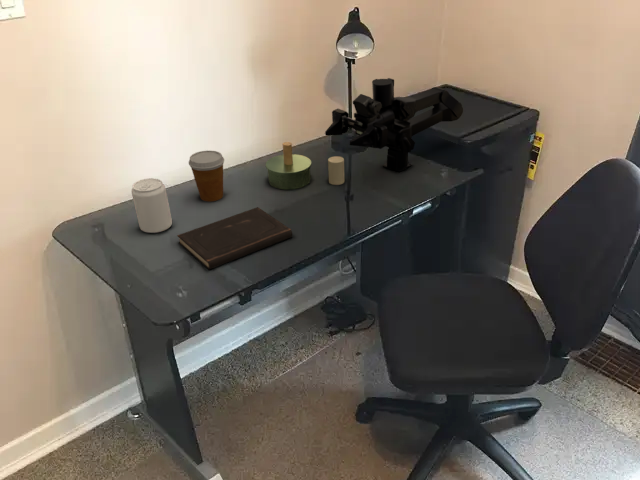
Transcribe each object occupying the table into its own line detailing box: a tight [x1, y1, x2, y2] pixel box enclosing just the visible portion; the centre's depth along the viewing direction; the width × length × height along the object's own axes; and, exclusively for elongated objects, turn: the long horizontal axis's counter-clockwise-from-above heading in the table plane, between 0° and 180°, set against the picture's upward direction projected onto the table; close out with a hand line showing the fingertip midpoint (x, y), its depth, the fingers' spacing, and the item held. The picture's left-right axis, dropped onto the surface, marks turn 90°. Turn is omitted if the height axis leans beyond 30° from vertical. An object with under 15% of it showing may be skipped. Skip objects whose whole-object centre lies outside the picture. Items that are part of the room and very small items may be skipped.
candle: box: [327, 155, 345, 186], centre depth 177 cm, size 5×5×7 cm
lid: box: [265, 141, 312, 174], centre depth 175 cm, size 13×13×7 cm
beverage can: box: [131, 177, 173, 234], centre depth 154 cm, size 8×8×12 cm
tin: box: [267, 167, 312, 191], centre depth 179 cm, size 12×12×5 cm
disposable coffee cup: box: [188, 150, 225, 202], centre depth 168 cm, size 10×10×12 cm
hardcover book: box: [176, 206, 293, 271], centre depth 151 cm, size 16×23×2 cm
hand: (337, 138), depth 163 cm, fingers open, 9 cm apart
